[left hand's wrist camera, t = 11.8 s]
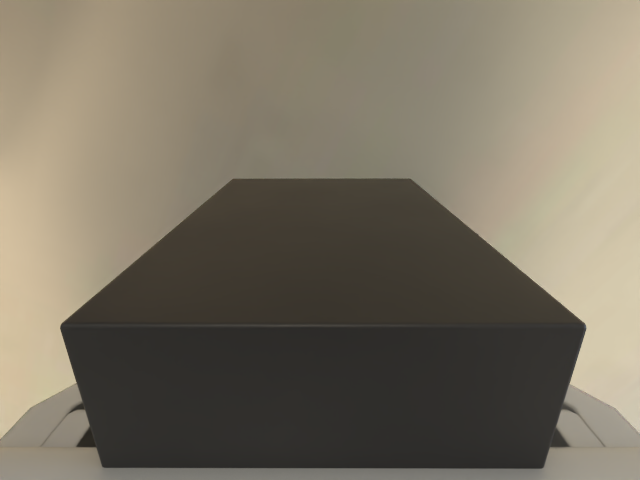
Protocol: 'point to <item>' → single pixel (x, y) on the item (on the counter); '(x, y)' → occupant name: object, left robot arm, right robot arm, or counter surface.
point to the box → (323, 338)
